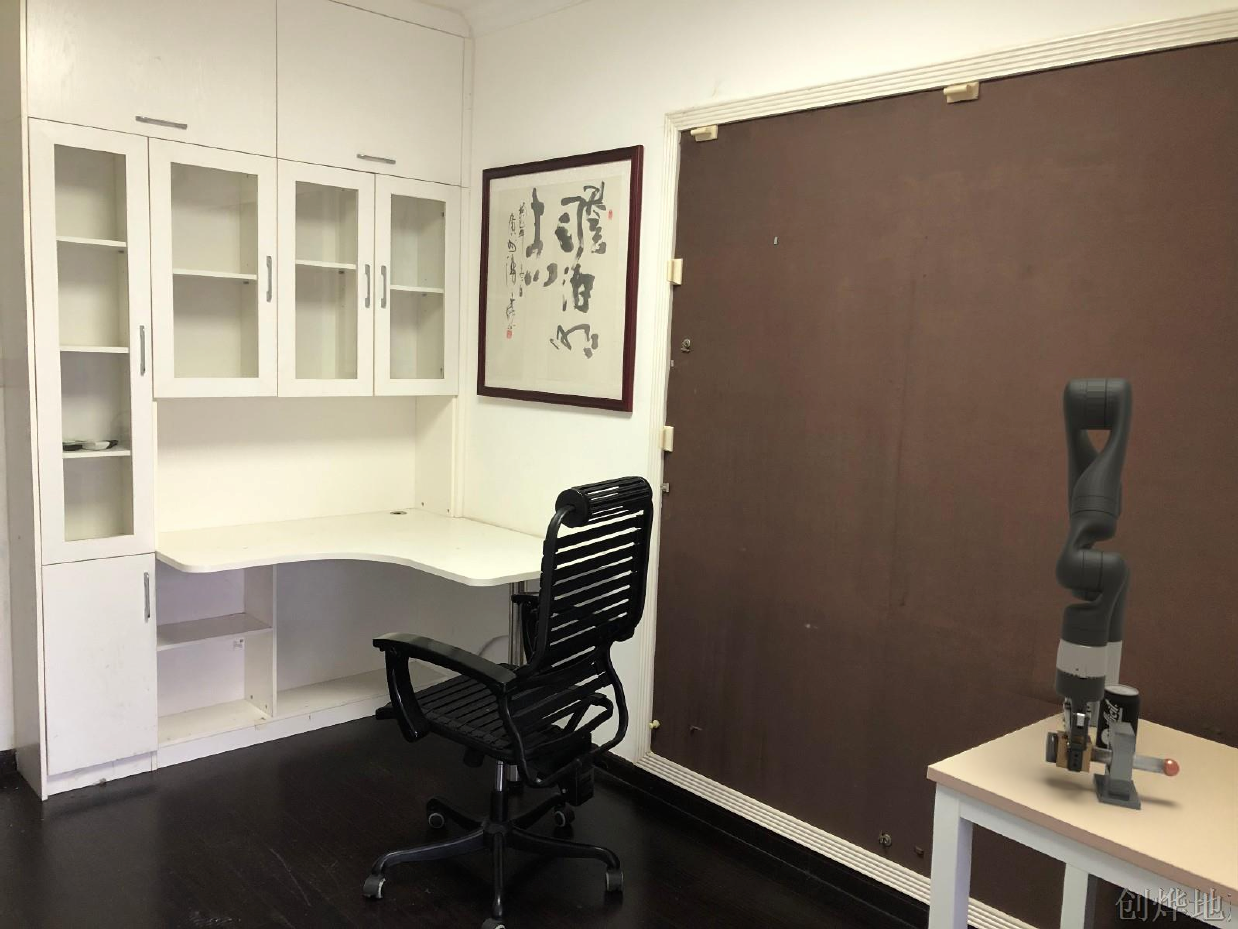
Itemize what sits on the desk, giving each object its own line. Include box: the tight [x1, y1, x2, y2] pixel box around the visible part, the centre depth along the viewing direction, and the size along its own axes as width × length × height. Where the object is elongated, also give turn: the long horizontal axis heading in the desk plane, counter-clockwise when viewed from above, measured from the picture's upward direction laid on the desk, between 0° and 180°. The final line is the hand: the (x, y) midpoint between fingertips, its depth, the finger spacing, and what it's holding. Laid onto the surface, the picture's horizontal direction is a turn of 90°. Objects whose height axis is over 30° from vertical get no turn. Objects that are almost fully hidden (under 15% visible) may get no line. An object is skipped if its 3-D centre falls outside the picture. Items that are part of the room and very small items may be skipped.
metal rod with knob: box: [1045, 730, 1180, 778], centre depth 160 cm, size 20×5×5 cm, turn 69°
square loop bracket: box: [1092, 720, 1142, 811], centre depth 160 cm, size 10×6×11 cm, turn 159°
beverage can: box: [1095, 683, 1141, 754], centre depth 178 cm, size 7×7×12 cm
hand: (1071, 761), depth 162 cm, fingers open, 8 cm apart
